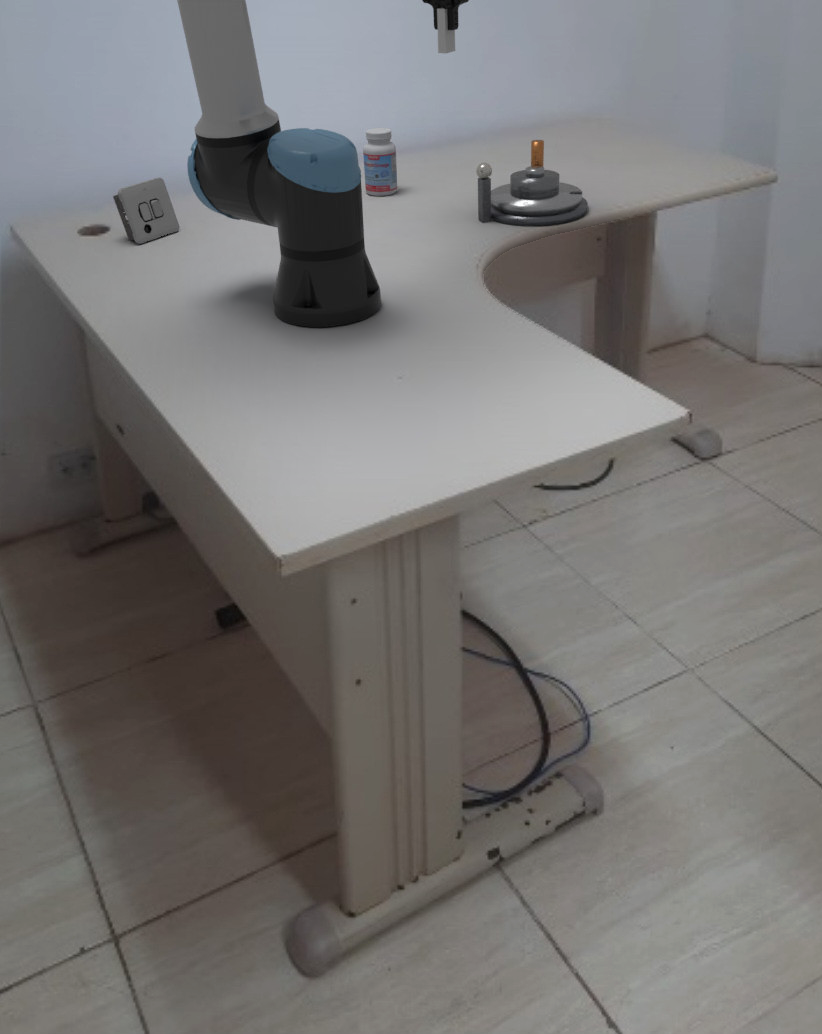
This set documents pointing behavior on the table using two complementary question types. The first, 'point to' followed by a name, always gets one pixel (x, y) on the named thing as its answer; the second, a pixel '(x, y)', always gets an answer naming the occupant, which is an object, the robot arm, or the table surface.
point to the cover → (534, 183)
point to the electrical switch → (146, 210)
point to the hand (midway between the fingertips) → (446, 51)
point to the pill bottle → (380, 163)
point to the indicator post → (484, 192)
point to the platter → (561, 203)
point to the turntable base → (540, 217)
